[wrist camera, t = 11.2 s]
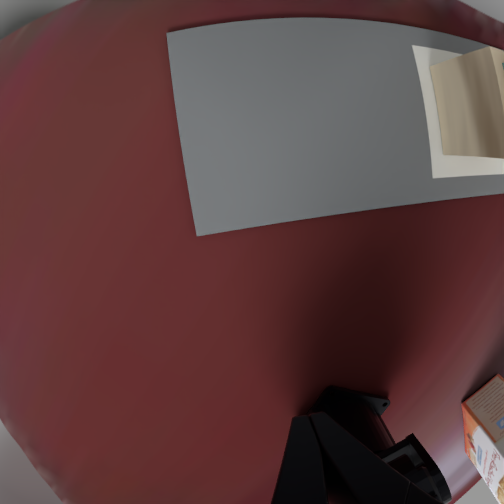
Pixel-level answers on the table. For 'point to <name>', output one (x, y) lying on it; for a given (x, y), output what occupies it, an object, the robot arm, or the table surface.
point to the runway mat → (315, 120)
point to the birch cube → (471, 103)
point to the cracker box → (487, 433)
